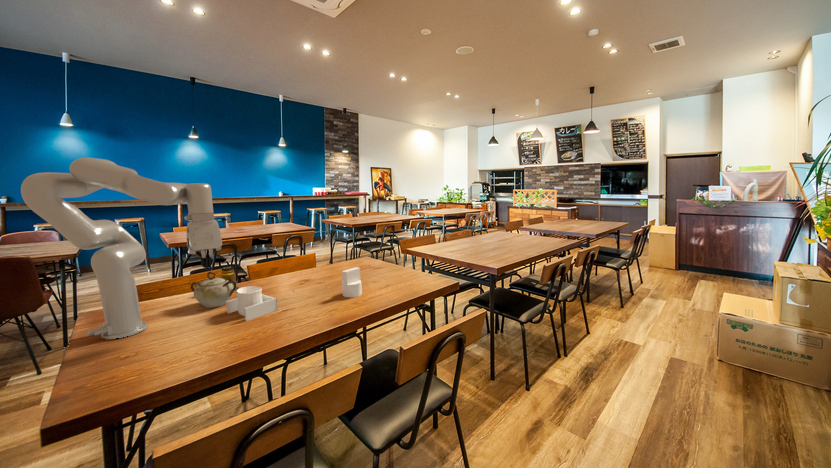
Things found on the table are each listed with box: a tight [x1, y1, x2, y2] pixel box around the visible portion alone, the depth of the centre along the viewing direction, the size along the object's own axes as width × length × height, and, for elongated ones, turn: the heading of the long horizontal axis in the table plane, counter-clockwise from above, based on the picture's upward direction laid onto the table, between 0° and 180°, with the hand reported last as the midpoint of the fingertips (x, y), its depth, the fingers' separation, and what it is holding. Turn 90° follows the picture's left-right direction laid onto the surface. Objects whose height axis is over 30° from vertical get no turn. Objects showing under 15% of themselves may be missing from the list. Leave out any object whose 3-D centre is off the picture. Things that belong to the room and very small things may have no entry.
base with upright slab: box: [341, 267, 363, 298], centre depth 153 cm, size 9×9×12 cm
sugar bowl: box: [190, 271, 237, 309], centre depth 142 cm, size 20×15×15 cm
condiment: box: [220, 266, 240, 293], centre depth 161 cm, size 7×8×12 cm
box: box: [225, 293, 278, 322], centre depth 134 cm, size 13×15×5 cm
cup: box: [235, 285, 263, 317], centre depth 133 cm, size 10×10×10 cm
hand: (207, 267), depth 119 cm, fingers closed
